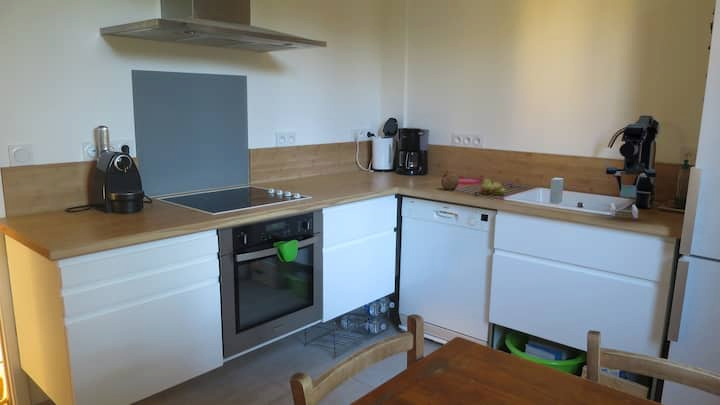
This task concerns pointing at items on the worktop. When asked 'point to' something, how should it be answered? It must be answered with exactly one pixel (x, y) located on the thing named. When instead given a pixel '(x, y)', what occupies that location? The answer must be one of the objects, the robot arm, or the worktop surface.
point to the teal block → (628, 191)
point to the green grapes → (492, 187)
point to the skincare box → (556, 190)
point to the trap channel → (633, 211)
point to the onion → (449, 181)
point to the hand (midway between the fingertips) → (627, 191)
